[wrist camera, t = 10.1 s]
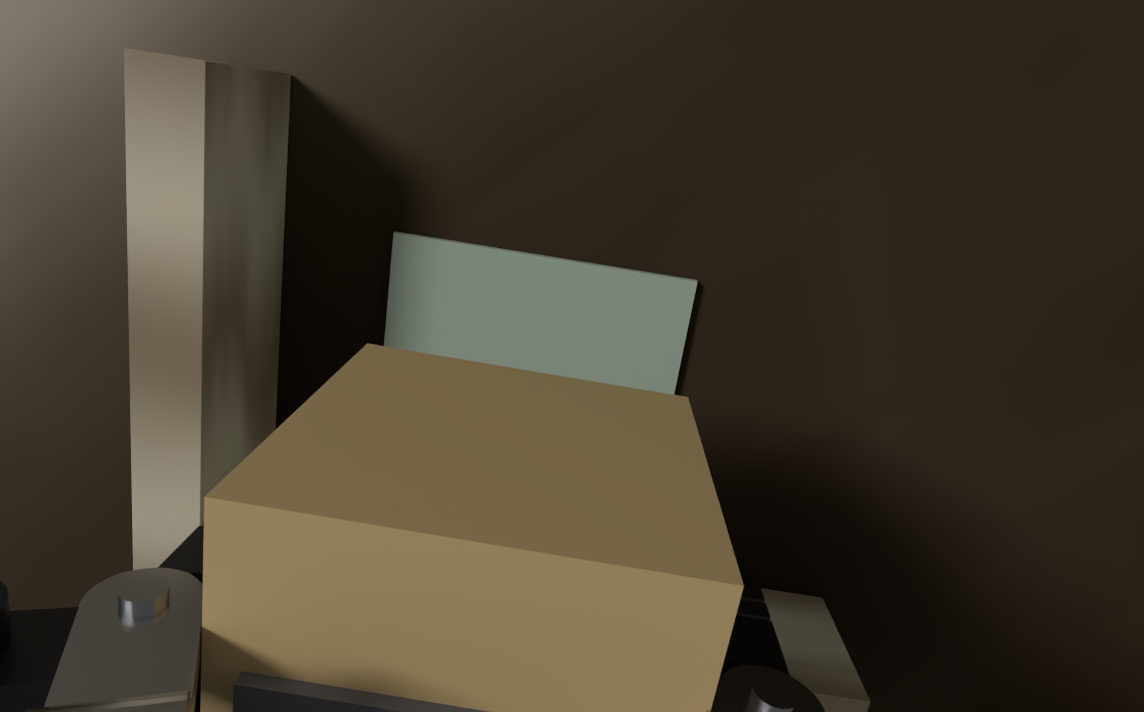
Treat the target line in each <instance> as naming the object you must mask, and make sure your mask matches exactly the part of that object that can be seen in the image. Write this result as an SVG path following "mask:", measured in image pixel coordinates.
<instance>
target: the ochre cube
mask: <svg viewBox="0 0 1144 712" xmlns="http://www.w3.org/2000/svg"><path fill="white" fill-rule="evenodd" d="M743 588H744V585H743V581H742V578H741V575H740V571H739V568H738V565H737V561H736V558H735V554H734V551H733V548H732V544H731V541H730V538H729V534H728V531H727V527H726V524H725V521H724V517H723V514H722V511H721V507H720V504H719V501H718V497H717V494H716V490H715V487H714V484H713V480H712V477H711V474H710V470H709V467H708V464H707V460H706V457H705V453H704V450H703V447H702V443H701V440H700V437H699V433H698V430H697V427H696V423H695V420H694V416H693V413H692V410H691V406H690V403H689V400H688V397H684V396H678V395H672V394H666V393H660V392H654V391H649V390H643V389H637V388H631V387H625V386H619V385H613V384H607V383H601V382H595V381H589V380H583V379H577V378H571V377H565V376H559V375H553V374H547V373H541V372H535V371H529V370H523V369H517V368H511V367H505V366H499V365H493V364H487V363H481V362H476V361H470V360H464V359H458V358H452V357H446V356H440V355H434V354H428V353H422V352H416V351H410V350H404V349H398V348H392V347H386V346H380V345H374V344H368V343H367V344H366V345H365V346H364V347H363V348H362V349H361V350H360V351H359V352H358V353H357V354H356V355H354V356H353V357H352V358H351V359H350V360H349V361H348V362H347V363H346V364H345V365H344V366H343V367H342V368H341V369H340V370H339V371H337V372H336V373H335V374H334V375H333V376H332V377H331V378H330V379H329V380H328V381H327V382H326V383H325V384H324V385H323V386H322V387H320V388H319V389H318V390H317V391H316V392H315V393H314V394H313V395H312V396H311V397H310V398H309V399H308V400H307V401H306V402H305V403H303V404H302V405H301V406H300V407H299V408H298V409H297V410H296V411H295V412H294V413H293V414H292V415H291V416H290V417H289V418H288V419H286V420H285V421H284V422H283V423H282V424H281V425H280V426H279V427H278V428H277V429H276V430H275V431H274V432H273V433H272V434H271V435H269V436H268V437H267V438H266V439H265V440H264V441H263V442H262V443H261V444H260V445H259V446H258V447H257V448H256V449H255V450H254V451H252V452H251V453H250V454H249V455H248V456H247V457H246V458H245V459H244V460H243V461H242V462H241V463H240V464H239V465H238V466H237V467H235V468H234V469H233V470H232V471H231V472H230V473H229V474H228V475H227V476H226V477H225V478H224V479H223V480H222V481H221V482H220V483H218V484H217V485H216V486H215V487H214V488H213V489H212V490H211V491H210V492H209V493H208V494H207V495H206V496H205V497H204V542H203V595H202V648H201V701H200V712H706V710H707V709H708V710H711V707H712V704H713V700H714V696H715V692H716V689H717V685H718V681H719V678H720V674H721V670H722V666H723V663H724V659H725V655H726V651H727V648H728V644H729V640H730V636H731V633H732V629H733V625H734V621H735V618H736V614H737V610H738V607H739V603H740V599H741V595H742V592H743Z"/></svg>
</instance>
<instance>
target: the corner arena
mask: <svg viewBox="0 0 1144 712" xmlns="http://www.w3.org/2000/svg"><path fill="white" fill-rule="evenodd" d="M124 76H125V132H126V188H127V244H128V300H129V356H130V413H131V469H132V525H133V570H138V569H145V568H158V567H159V566H160V565H161V564H162V563H163V562H164V561H165V560H166V559H167V558H168V557H169V556H170V554H171V553H172V552H173V551H174V550H175V549H176V548H177V547H178V546H179V545H180V544H181V543H182V542H183V541H184V540H185V539H186V538H187V537H188V536H189V535H190V534H191V533H192V532H193V531H194V530H195V529H196V528H197V527H198V526H199V525H200V526H202V525H203V521H204V497H205V496H206V495H207V494H208V493H209V492H210V491H211V490H212V489H213V488H214V487H215V486H216V485H217V484H218V483H220V482H221V481H222V480H223V479H224V478H225V477H226V476H227V475H228V474H229V473H230V472H231V471H232V470H233V469H234V468H235V467H237V466H238V465H239V464H240V463H241V462H242V461H243V460H244V459H245V458H246V457H247V456H248V455H249V454H250V453H251V452H252V451H254V450H255V449H256V448H257V447H258V446H259V445H260V444H261V443H262V442H263V441H264V440H265V439H266V438H267V437H268V436H269V435H271V434H272V433H273V432H274V431H275V430H276V408H277V385H278V362H279V339H280V315H281V292H282V269H283V246H284V223H285V199H286V176H287V153H288V130H289V107H290V84H291V74H286V73H280V72H273V71H267V70H261V69H255V68H249V67H243V66H237V65H231V64H224V63H218V62H212V61H205V60H199V59H192V58H186V57H180V56H173V55H167V54H160V53H154V52H148V51H141V50H135V49H129V48H124ZM761 590H762V593H763V596H764V599H765V600H764V603H766V605H767V608H768V611H769V614H770V621H772V623H773V626H774V629H775V632H776V635H777V638H778V641H779V644H780V647H781V650H782V653H783V656H784V659H785V662H786V665H787V668H788V671H789V674H790V676H791V677H793V678H795V679H796V680H798V681H799V682H801V683H802V684H803V685H805V686H806V687H807V688H808V689H809V690H810V691H811V692H813V694H814V695H815V696H816V697H817V698H818V699H819V701H820V703H821V704H822V706H823V708H824V710H825V712H867V711H868V708H869V705H870V700H869V697H868V695H867V693H866V691H865V689H864V687H863V684H862V682H861V680H860V678H859V676H858V674H857V671H856V669H855V667H854V665H853V663H852V661H851V658H850V656H849V654H848V652H847V650H846V648H845V645H844V643H843V641H842V639H841V637H840V635H839V632H838V630H837V628H836V626H835V624H834V622H833V619H832V617H831V615H830V613H829V611H828V609H827V606H826V604H825V602H824V600H823V598H821V597H814V596H808V595H802V594H795V593H789V592H783V591H777V590H770V589H764V588H761Z"/></svg>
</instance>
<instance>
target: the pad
mask: <svg viewBox="0 0 1144 712" xmlns="http://www.w3.org/2000/svg"><path fill="white" fill-rule="evenodd" d="M696 287H697V280H693V279H687V278H681V277H674V276H668V275H662V274H656V273H650V272H643V271H637V270H631V269H625V268H619V267H612V266H606V265H600V264H594V263H588V262H582V261H575V260H569V259H563V258H557V257H551V256H544V255H538V254H532V253H526V252H520V251H513V250H507V249H501V248H495V247H489V246H482V245H476V244H470V243H464V242H458V241H452V240H445V239H439V238H433V237H427V236H421V235H414V234H408V233H402V232H394V233H393V245H392V256H391V268H390V280H389V291H388V303H387V315H386V326H385V338H384V346H386V347H392V348H398V349H404V350H410V351H416V352H422V353H428V354H434V355H440V356H446V357H452V358H458V359H464V360H470V361H476V362H481V363H487V364H493V365H499V366H505V367H511V368H517V369H523V370H529V371H535V372H541V373H547V374H553V375H559V376H565V377H571V378H577V379H583V380H589V381H595V382H601V383H607V384H613V385H619V386H625V387H631V388H637V389H643V390H649V391H654V392H660V393H666V394H672V395H674V392H675V388H676V383H677V378H678V373H679V368H680V364H681V359H682V354H683V349H684V344H685V340H686V335H687V330H688V325H689V320H690V316H691V311H692V306H693V301H694V296H695V292H696Z"/></svg>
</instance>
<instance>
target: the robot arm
mask: <svg viewBox="0 0 1144 712" xmlns="http://www.w3.org/2000/svg"><path fill="white" fill-rule="evenodd" d="M203 542H204V521H203V525H202V526H200V525H199V526H198V527H197V528H196V529H195V530H194V531H193V532H192V533H191V534H190V535H189V536H188V537H187V538H186V539H185V540H184V541H183V542H182V543H181V544H180V545H179V546H178V547H177V548H176V549H175V550H174V551H173V552H172V553H171V554H170V556H169V557H168V558H167V559H166V560H165V561H164V562H163V563H162V564H161V565H160V566H159V567H158V568H145V569H138V570H133V571H128V572H125V573H121V574H118V575H116V576H113V577H111V578H109V579H107V580H105V581H103V582H101V583H99V584H98V585H96V586H95V587H93V588H92V589H91V590H90V591H89V592H88V593H87V594H86V595H85V596H84V598H83V599H82V601H81V603H80V605H79V607H71V608H56V609H35V610H15V611H10V609H9V595H8V590H7V587H6V586H5V585H4V583H2V582H1V581H0V712H200V701H201V648H202V595H203ZM736 561H737V565H738V568H739V571H740V575H741V578H742V581H743V585H744V588H743V592H742V595H741V599H740V603H739V607H738V610H737V614H736V618H735V621H734V625H733V629H732V633H731V636H730V640H729V644H728V648H727V651H726V655H725V659H724V663H723V666H722V670H721V674H720V678H719V681H718V685H717V689H716V692H715V696H714V700H713V704H712V707H711V710H708V709H707V710H706V712H825V710H824V708H823V706H822V704H821V703H820V701H819V699H818V698H817V697H816V696H815V695H814V694H813V692H811V691H810V690H809V689H808V688H807V687H806V686H805V685H803V684H802V683H801V682H799V681H798V680H796V679H795V678H793V677H791V676H790V674H789V671H788V668H787V665H786V662H785V659H784V656H783V653H782V650H781V647H780V644H779V641H778V638H777V635H776V632H775V629H774V626H773V623H772V621H770V614H769V611H768V608H767V605H766V603H764V600H765V599H764V596H763V593H762V590H761V587H760V584H759V581H758V578H757V577H756V576H755V575H754V574H753V573H752V572H751V571H750V569H749V568H748V567H747V566H746V565H745V564H744V563H743V562H742V561H741V560H740V559H739V558H736Z"/></svg>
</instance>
